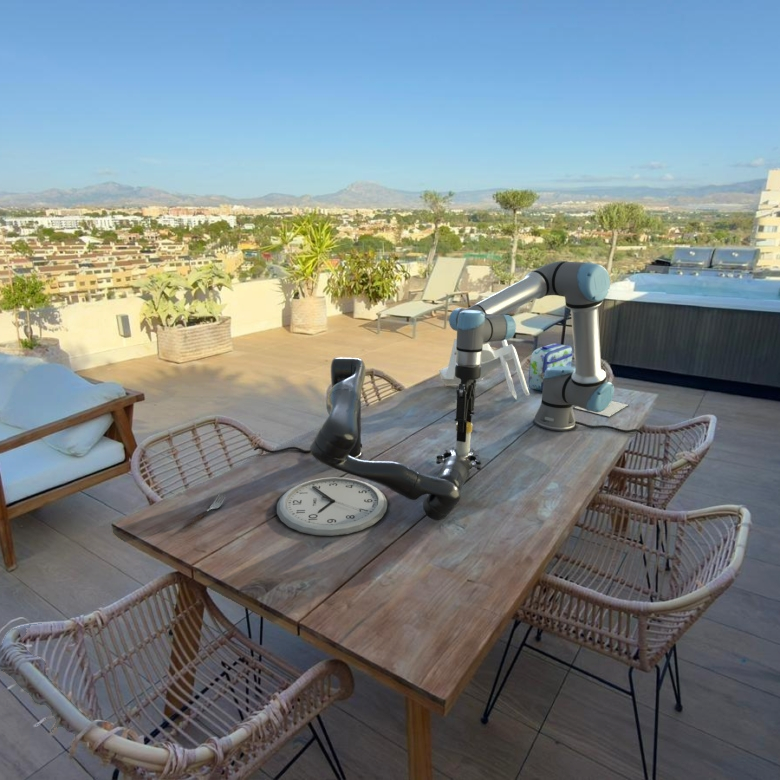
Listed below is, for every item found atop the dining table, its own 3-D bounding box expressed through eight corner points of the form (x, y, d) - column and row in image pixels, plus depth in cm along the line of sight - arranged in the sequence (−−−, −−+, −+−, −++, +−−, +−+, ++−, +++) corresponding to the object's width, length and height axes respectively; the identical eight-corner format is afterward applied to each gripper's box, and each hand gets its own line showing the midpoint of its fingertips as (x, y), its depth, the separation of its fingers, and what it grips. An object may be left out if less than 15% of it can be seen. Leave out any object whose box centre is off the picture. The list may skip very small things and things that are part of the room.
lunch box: (544, 395, 239) (549, 351, 233) (524, 390, 247) (528, 347, 240) (571, 384, 257) (577, 343, 251) (552, 380, 264) (556, 339, 258)
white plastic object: (461, 429, 252) (437, 405, 227) (444, 352, 274) (420, 323, 250) (535, 404, 240) (518, 377, 215) (510, 326, 262) (492, 293, 237)
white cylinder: (462, 476, 160) (465, 429, 156) (451, 472, 163) (454, 426, 159) (470, 472, 163) (474, 426, 159) (460, 468, 166) (462, 422, 161)
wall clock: (392, 527, 129) (268, 531, 127) (391, 533, 130) (269, 537, 127) (383, 473, 158) (282, 475, 155) (383, 478, 158) (282, 480, 156)
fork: (178, 529, 130) (177, 522, 129) (219, 499, 144) (218, 493, 144) (187, 531, 129) (186, 524, 129) (227, 501, 143) (226, 494, 143)
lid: (475, 431, 158) (476, 425, 158) (463, 434, 156) (463, 428, 155) (464, 426, 162) (465, 420, 162) (452, 429, 160) (452, 423, 159)
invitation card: (608, 416, 214) (573, 407, 224) (608, 416, 214) (573, 408, 224) (628, 404, 229) (594, 396, 238) (628, 405, 229) (594, 397, 238)
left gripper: (479, 464, 145) (487, 441, 161) (429, 457, 149) (442, 435, 165) (477, 489, 147) (486, 464, 163) (428, 481, 151) (441, 457, 167)
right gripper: (463, 356, 162) (459, 426, 169) (447, 369, 146) (443, 446, 153) (487, 358, 159) (482, 429, 166) (473, 372, 144) (468, 450, 150)
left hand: (463, 450), depth 164 cm, fingers closed on white cylinder, 4 cm apart
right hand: (463, 437), depth 160 cm, fingers closed on lid, 5 cm apart
